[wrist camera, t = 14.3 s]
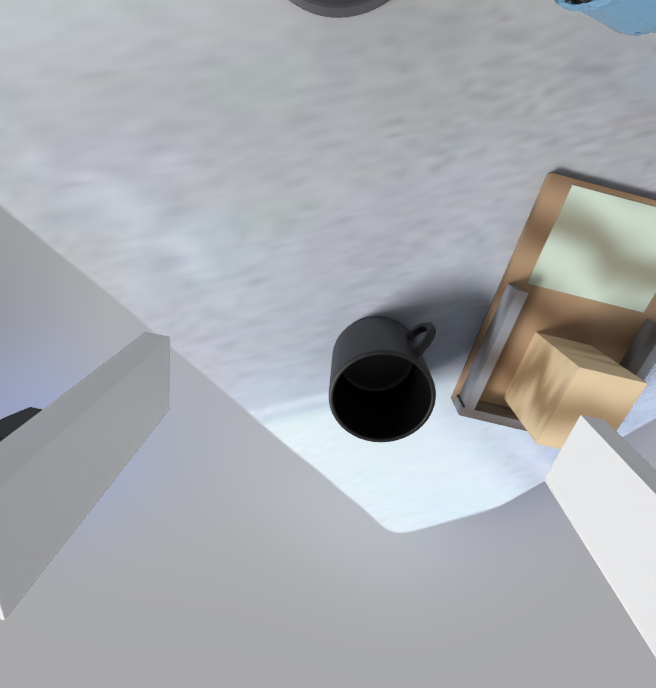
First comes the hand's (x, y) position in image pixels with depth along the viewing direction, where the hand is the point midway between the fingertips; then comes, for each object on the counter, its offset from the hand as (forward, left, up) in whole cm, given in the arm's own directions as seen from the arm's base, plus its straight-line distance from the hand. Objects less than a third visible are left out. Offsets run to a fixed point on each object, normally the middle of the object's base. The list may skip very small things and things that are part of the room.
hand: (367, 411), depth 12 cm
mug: (+9, +6, -28) cm, 30 cm away
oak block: (+7, +23, -27) cm, 36 cm away
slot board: (+1, +23, -27) cm, 36 cm away
